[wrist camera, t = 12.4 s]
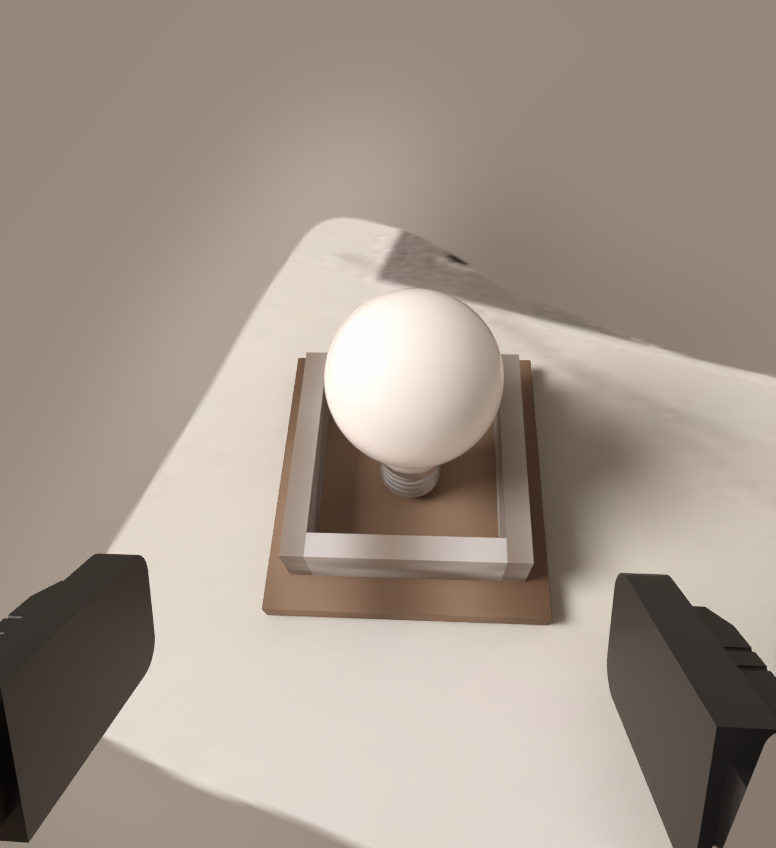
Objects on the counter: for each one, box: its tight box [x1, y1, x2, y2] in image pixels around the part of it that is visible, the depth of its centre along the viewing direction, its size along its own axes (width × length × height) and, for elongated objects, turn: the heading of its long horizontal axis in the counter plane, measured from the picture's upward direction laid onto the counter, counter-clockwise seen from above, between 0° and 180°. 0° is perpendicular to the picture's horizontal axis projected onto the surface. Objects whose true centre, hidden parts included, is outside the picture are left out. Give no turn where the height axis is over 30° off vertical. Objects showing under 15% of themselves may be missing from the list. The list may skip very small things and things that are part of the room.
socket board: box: [262, 353, 552, 625], centre depth 29 cm, size 12×13×4 cm
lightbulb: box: [324, 288, 504, 498], centre depth 24 cm, size 6×6×11 cm
